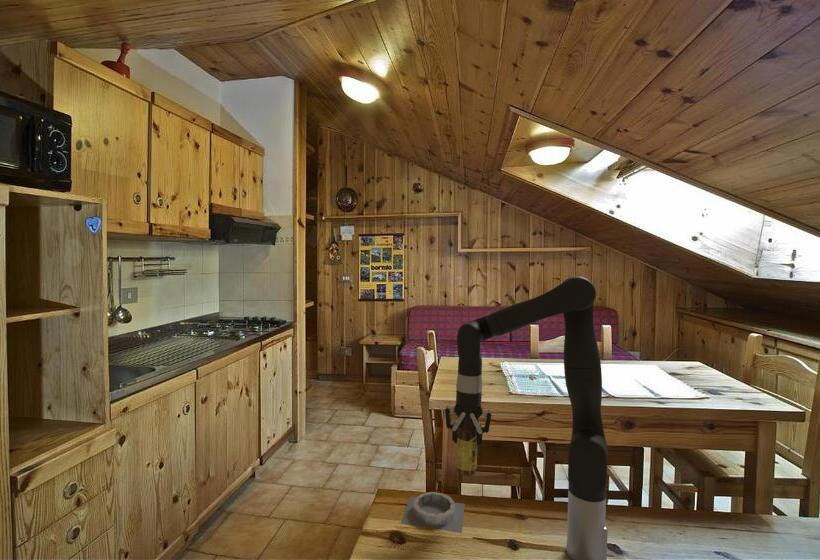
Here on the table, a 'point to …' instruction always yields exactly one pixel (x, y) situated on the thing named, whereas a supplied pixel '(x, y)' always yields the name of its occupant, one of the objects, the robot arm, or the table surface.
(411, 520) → the charcoal base
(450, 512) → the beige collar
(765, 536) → the table surface
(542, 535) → the table surface
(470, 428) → the sauce bottle
